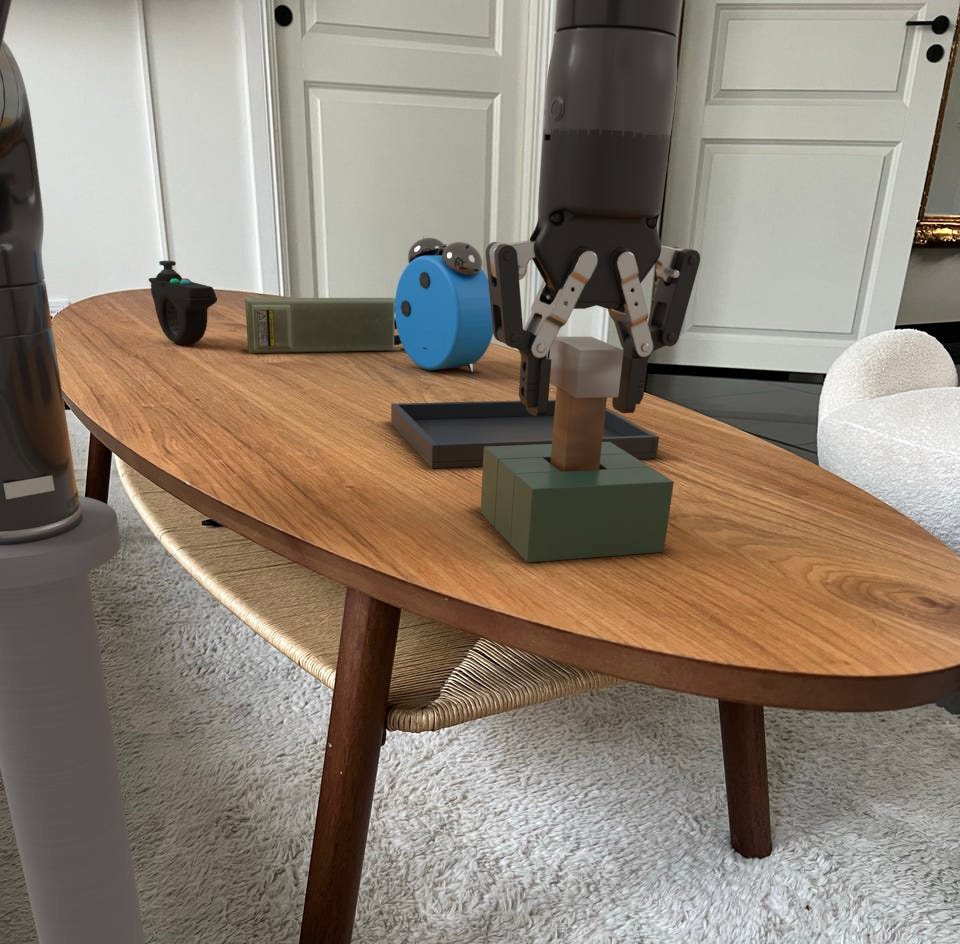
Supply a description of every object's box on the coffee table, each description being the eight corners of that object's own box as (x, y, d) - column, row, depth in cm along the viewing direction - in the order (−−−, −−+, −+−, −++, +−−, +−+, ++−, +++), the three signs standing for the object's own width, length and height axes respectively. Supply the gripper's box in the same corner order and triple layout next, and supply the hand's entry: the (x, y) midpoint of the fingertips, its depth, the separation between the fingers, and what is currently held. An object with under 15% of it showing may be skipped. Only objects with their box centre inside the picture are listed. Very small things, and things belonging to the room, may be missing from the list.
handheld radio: (247, 349, 123) (428, 346, 131) (250, 355, 120) (435, 351, 128) (243, 296, 119) (429, 296, 128) (247, 300, 117) (437, 300, 125)
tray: (431, 468, 79) (432, 445, 78) (391, 423, 91) (391, 403, 91) (656, 458, 85) (659, 436, 84) (589, 417, 98) (590, 398, 97)
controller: (180, 336, 129) (172, 258, 124) (225, 351, 121) (219, 268, 117) (150, 338, 126) (141, 259, 122) (194, 353, 118) (187, 269, 114)
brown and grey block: (562, 545, 64) (580, 350, 58) (536, 521, 68) (550, 336, 62) (601, 542, 65) (623, 349, 59) (573, 518, 69) (591, 336, 63)
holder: (527, 562, 61) (532, 489, 59) (480, 512, 69) (483, 446, 67) (663, 552, 64) (674, 481, 61) (602, 505, 72) (610, 441, 70)
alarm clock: (493, 376, 115) (501, 244, 108) (454, 380, 111) (459, 244, 104) (429, 358, 124) (432, 235, 117) (391, 361, 120) (392, 235, 113)
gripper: (683, 135, 60) (650, 397, 68) (472, 120, 56) (461, 402, 64) (747, 133, 54) (702, 423, 62) (514, 116, 50) (496, 430, 57)
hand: (579, 411), depth 63 cm, fingers open, 5 cm apart
